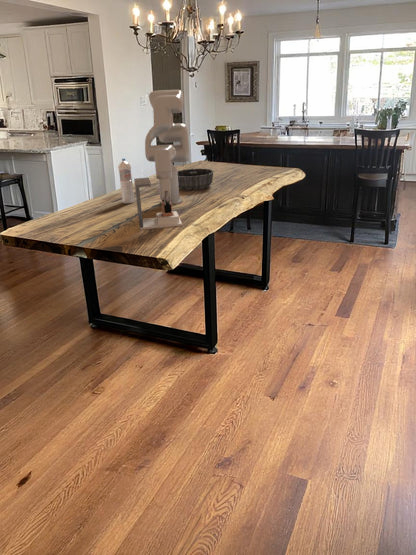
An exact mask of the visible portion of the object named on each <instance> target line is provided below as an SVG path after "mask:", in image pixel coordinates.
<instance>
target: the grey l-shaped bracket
mask: <svg viewBox="0 0 416 555" xmlns="http://www.w3.org/2000/svg"><path fill="white" fill-rule="evenodd" d="M133 182H134V188H135V189H134V190H135V199H136V207H137V210H136V211H137V216H138V217H137V218H138V224H139V225H140V226H139V225H138V226H139V229H140V228H142V227H143V220H142V219H143V211H142V202H141V193H140V192H141V191H140V188H146V187H151V186H152V184H151V181H150V177H138V178H137V177H136V178H133Z"/></svg>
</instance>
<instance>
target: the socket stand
mask: <svg viewBox="0 0 416 555" xmlns="http://www.w3.org/2000/svg"><path fill="white" fill-rule="evenodd" d="M172 215H173V216H166V217H163V214H162V211H161V212H156V217H146V218H142V220H143V227H142V228H140V225H138V226H139V230H140V231H141V230H151V229H152V230H153V229H161V228H171V227H173V228H174V227H181V226H183V222H182V221H181V219H180V215H179V213H178V212H177V210H174V211H173V210H172Z"/></svg>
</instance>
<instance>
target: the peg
mask: <svg viewBox="0 0 416 555" xmlns="http://www.w3.org/2000/svg"><path fill="white" fill-rule="evenodd" d="M161 203H162V204H161ZM161 203H160V204H161V212H162V214H163V217H166V216H173V215H172V211H173V206H172V203H171V201H170V204H171V213H165V211H164V205H165V204H164V202H161Z"/></svg>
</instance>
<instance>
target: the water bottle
mask: <svg viewBox="0 0 416 555" xmlns="http://www.w3.org/2000/svg"><path fill="white" fill-rule="evenodd" d="M131 168H132V166H131V165H130V163H129V162H127V161H126V157H125V158H121V162H120V163H119V165H118V172H119V182H120V190H121V191H120V192H121V198H122V204H124V205H130V204H131V205H132V204H134V203H135V193H134V186H133V185H134V184H133V176H132V169H131Z"/></svg>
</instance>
